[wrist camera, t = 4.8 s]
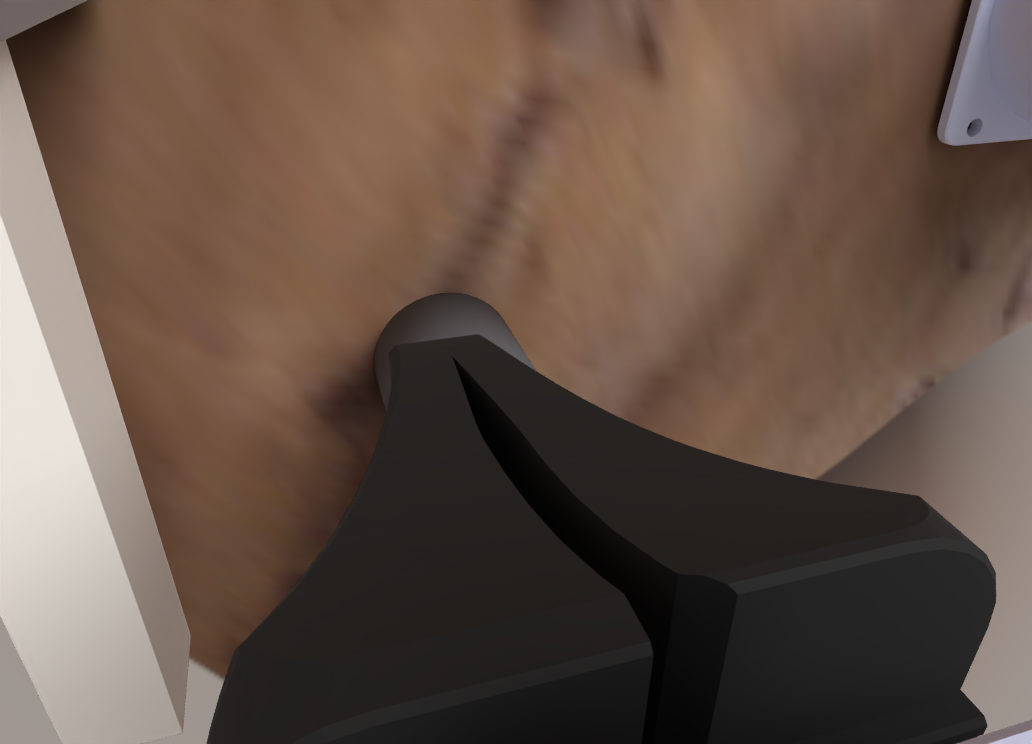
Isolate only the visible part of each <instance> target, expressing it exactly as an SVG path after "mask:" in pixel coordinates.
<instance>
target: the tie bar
mask: <svg viewBox="0 0 1032 744" xmlns="http://www.w3.org/2000/svg"><path fill="white" fill-rule="evenodd" d="M85 1H87V0H0V616H1V618H2V620H3V622H4V624H5V627H6V629H7V631H8V633H9V635H10V637H11V639H12V641H13V643H14V645H15V647H16V649H17V652H18V654H19V656H20V658H21V660H22V662H23V664H24V666H25V668H26V670H27V672H28V674H29V676H30V679H31V680H32V683H33V685H34V687H35V689H36V691H37V693H38V695H39V697H40V699H41V701H42V703H43V705H44V707H45V710H46V712H47V714H48V716H49V718H50V720H51V722H52V724H53V726H54V728H55V730H56V732H57V734H58V737H59V738H60V741H61V743H62V744H143V743H147V742H150V741H155V740H159V739H163V738H167V737H171V736H175V735H179V734H182V733H183V723H184V711H185V699H186V687H187V674H188V663H189V651H190V639H191V635H190V632H189V629H188V625H187V622H186V619H185V616H184V613H183V609H182V606H181V603H180V600H179V596H178V593H177V590H176V587H175V584H174V580H173V577H172V574H171V571H170V567H169V564H168V561H167V558H166V555H165V551H164V548H163V545H162V542H161V538H160V535H159V532H158V529H157V526H156V522H155V519H154V516H153V513H152V510H151V506H150V503H149V500H148V497H147V493H146V490H145V487H144V484H143V481H142V477H141V474H140V471H139V468H138V464H137V461H136V458H135V455H134V452H133V448H132V445H131V442H130V439H129V435H128V432H127V429H126V426H125V423H124V419H123V416H122V413H121V410H120V406H119V403H118V400H117V397H116V394H115V390H114V387H113V384H112V381H111V377H110V374H109V371H108V368H107V365H106V361H105V358H104V355H103V352H102V349H101V345H100V342H99V339H98V336H97V332H96V329H95V326H94V323H93V320H92V316H91V313H90V310H89V307H88V303H87V300H86V297H85V294H84V291H83V287H82V284H81V281H80V278H79V274H78V271H77V268H76V265H75V262H74V258H73V255H72V252H71V249H70V245H69V242H68V239H67V236H66V233H65V229H64V226H63V223H62V220H61V217H60V213H59V210H58V207H57V204H56V200H55V197H54V194H53V191H52V188H51V184H50V181H49V178H48V175H47V171H46V168H45V165H44V162H43V159H42V155H41V152H40V149H39V146H38V142H37V139H36V136H35V133H34V130H33V126H32V123H31V120H30V117H29V113H28V110H27V107H26V104H25V101H24V97H23V94H22V91H21V88H20V84H19V81H18V78H17V75H16V72H15V68H14V65H13V62H12V59H11V56H10V52H9V49H8V46H7V43H6V39H8V38H10V37H12V36H14V35H16V34H18V33H21V32H23V31H25V30H27V29H29V28H31V27H33V26H35V25H37V24H39V23H41V22H43V21H46V20H48V19H50V18H52V17H54V16H56V15H58V14H60V13H62V12H64V11H66V10H68V9H71V8H73V7H75V6H77V5H79V4H81V3H83V2H85Z"/></svg>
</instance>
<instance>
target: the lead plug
mask: <svg viewBox="0 0 1032 744" xmlns="http://www.w3.org/2000/svg"><path fill="white" fill-rule="evenodd" d="M475 334H479V335H481V336H482V337H484V338H486V339H488V340H489V341H491V342H492V343H494V344H495V345H497V346H498V347H500V348H501V349H503V350H504V351H506V352H507V353H509V354H511V355H512V356H514V357H515V358H517V359H518V360H520V361H521V362H523V363H524V364H526V365H527V366H529V367H530V368H532V369H534V370H535V368H534V367H533V365H532V363H531V362H530V360H529V359H528V357H527V356H526V354H525V352H524V351H523V349H522V348H521V346H520V345H519V343H518V341H517V340H516V338H515V337H514V335H513V334H512V332H511V330H510V329H509V327H508V326H507V324H506V323H505V321H504V320H503V318H502V317H501V316H500V314H499V313H498V312H497V311H496V310H495V309H494V308H493V307H492V306H490V305H489V304H487V303H486V302H484V301H482V300H480V299H478V298H476V297H473V296H470V295H466V294H460V293H440V294H435V295H430V296H427V297H424V298H421V299H419V300H417V301H415V302H413V303H411V304H409V305H408V306H406V307H405V308H403V309H402V310H401V311H399V312H398V313H397V314H396V315H395V316H394V317H393V318H392V319H391V320H390V321H389V323H388V324H387V325H386V326H385V328H384V330H383V331H382V333H381V335H380V337H379V340H378V342H377V346H376V349H375V356H374V368H375V374H376V378H377V381H378V385H379V389H380V392H381V396H382V399H383V403H384V407H385V410H386V412H387V407H388V402H389V397H390V392H391V378H390V367H389V356H388V353H389V352H390V351H391V350H392V348H393V347H394V346H395V345H399V344H407V343H415V342H422V341H430V340H437V339H445V338H452V337H460V336H467V335H475ZM535 371H536V370H535Z"/></svg>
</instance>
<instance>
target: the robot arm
mask: <svg viewBox="0 0 1032 744" xmlns="http://www.w3.org/2000/svg"><path fill="white" fill-rule="evenodd" d="M971 122H972V125H971V127H970V129H969V130H968V131H967V128H968V126H969V124H970V123H971ZM937 135H938V139H939V140H940V141H941V142H942V143H945V144H948V145H953V146H958V145H970V144H981V143H992V142H1003V141H1014V140H1026V139H1032V0H972V3H971V6H970V10H969V14H968V17H967V21H966V25H965V29H964V32H963V36H962V40H961V43H960V47H959V51H958V55H957V58H956V62H955V66H954V70H953V73H952V77H951V81H950V84H949V88H948V92H947V96H946V99H945V103H944V107H943V110H942V114H941V118H940V122H939V125H938V131H937ZM388 356H389V367H390V378H391V392H390V397H389V402H388V407H387V412H386V416H385V420H384V424H383V427H382V430H381V433H380V436H379V439H378V442H377V445H376V448H375V451H374V454H373V457H372V459H371V462H370V464H369V467H368V469H367V471H366V474H365V476H364V478H363V480H362V482H361V484H360V486H359V489H358V491H357V493H356V495H355V497H354V499H353V500H352V502H351V504H350V506H349V507H348V509H347V511H346V513H345V514H344V516H343V518H342V520H341V521H340V523H339V525H338V527H337V528H336V530H335V531H334V533H333V534H332V536H331V538H330V539H329V541H328V542H327V544H326V545H325V547H324V548H323V549H322V551H321V552H320V553H319V555H318V556H317V557H316V559H315V560H314V561H313V563H312V564H311V565H310V567H309V568H308V569H307V571H306V572H305V573H304V575H303V576H302V577H301V579H300V580H299V581H298V583H297V584H296V585H295V587H294V588H293V589H292V590H291V591H290V592H289V594H288V595H287V596H286V597H285V598H284V600H283V601H282V602H281V603H280V604H279V605H278V606H277V607H276V608H275V609H274V610H273V611H272V612H271V613H270V614H269V616H268V617H267V618H266V619H265V620H264V621H263V622H262V623H261V624H260V625H259V626H258V627H257V628H256V629H255V630H254V632H253V633H252V634H251V635H250V636H249V637H248V638H247V639H246V640H245V641H244V642H243V643H242V644H241V645H240V646H239V647H238V648H237V649H236V650H235V651H234V654H233V657H232V660H231V662H230V665H229V668H228V671H227V674H226V677H225V680H224V683H223V686H222V690H221V692H220V695H219V699H218V702H217V706H216V709H215V713H214V717H213V720H212V723H211V727H210V731H209V736H208V740H207V744H1032V720H1029V721H1026V722H1023V723H1020V724H1017V725H1013V726H1010V727H1007V728H1004V729H1001V730H998V731H995V732H991V733H988V734H985V735H983V734H984V732H985V730H986V728H987V723H986V720H985V717H984V715H983V714H982V713H981V712H980V710H979V709H978V708H977V707H976V706H975V705H974V704H973V703H972V702H971V701H970V700H969V699H968V698H967V696H965V694H964V693H963V692H962V691H961V690H960V689H961V687H962V684H963V682H964V680H965V677H966V675H967V673H968V671H969V669H970V666H971V664H972V662H973V660H974V657H975V655H976V653H977V651H978V649H979V646H980V644H981V642H982V640H983V637H984V635H985V633H986V631H987V628H988V626H989V622H990V620H991V616H992V613H993V610H994V607H995V603H996V573H995V570H994V568H993V567H992V564H991V563H990V561H989V559H988V557H987V555H986V554H985V553H984V552H983V551H982V550H981V549H980V548H978V547H977V546H976V545H975V544H974V543H973V542H972V541H970V540H969V539H968V538H967V537H966V536H964V535H963V534H962V533H961V532H960V531H959V530H958V529H956V528H955V527H954V526H953V525H952V524H951V523H950V522H948V521H947V520H946V519H945V518H944V517H943V516H941V515H940V514H939V513H938V512H937V511H936V510H935V509H933V508H932V507H931V506H930V505H929V504H928V503H927V502H925V501H924V500H923V499H922V498H921V497H919V496H916V495H909V494H902V493H896V492H889V491H882V490H876V489H868V488H862V487H856V486H849V485H842V484H835V483H829V482H824V481H819V480H814V479H809V478H805V477H800V476H796V475H791V474H787V473H782V472H778V471H773V470H769V469H765V468H761V467H757V466H754V465H750V464H746V463H742V462H738V461H735V460H732V459H729V458H725V457H722V456H719V455H716V454H713V453H709V452H706V451H703V450H700V449H697V448H693V447H691V446H688V445H685V444H682V443H679V442H677V441H674V440H671V439H669V438H666V437H664V436H661V435H659V434H656V433H654V432H652V431H649V430H647V429H644V428H642V427H640V426H637V425H635V424H632V423H630V422H628V421H626V420H624V419H621V418H619V417H617V416H615V415H613V414H611V413H609V412H607V411H605V410H603V409H601V408H599V407H597V406H596V405H594V404H592V403H590V402H588V401H586V400H584V399H582V398H580V397H579V396H577V395H575V394H573V393H572V392H570V391H568V390H566V389H565V388H563V387H561V386H559V385H558V384H556V383H554V382H553V381H551V380H549V379H548V378H546V377H545V376H543V375H541V374H540V373H538V372H537V371H535V370H534V369H532V368H530V367H529V366H527V365H526V364H524V363H523V362H521V361H520V360H518V359H517V358H515V357H514V356H512V355H511V354H509V353H507V352H506V351H504V350H503V349H501V348H500V347H498V346H497V345H495V344H494V343H492V342H491V341H489V340H488V339H486V338H484V337H482V336H481V335H479V334H475V335H467V336H460V337H452V338H445V339H437V340H430V341H422V342H415V343H407V344H399V345H395V346H394V347H393V348H392V350H391V351H390V352H389V353H388ZM979 735H982V736H979ZM978 736H979V737H978Z"/></svg>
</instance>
